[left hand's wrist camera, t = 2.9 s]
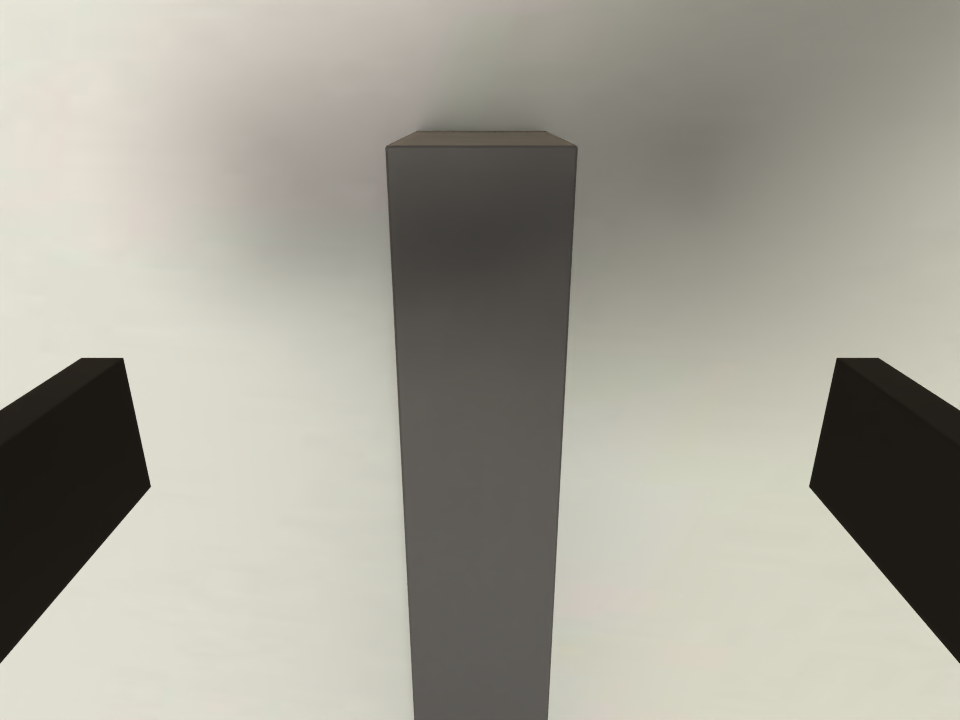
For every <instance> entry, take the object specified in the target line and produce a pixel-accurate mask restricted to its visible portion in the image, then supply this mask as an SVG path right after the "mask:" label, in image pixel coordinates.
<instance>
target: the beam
mask: <svg viewBox="0 0 960 720" xmlns="http://www.w3.org/2000/svg"><path fill="white" fill-rule="evenodd" d="M385 149H386V168H387V188H388V208H389V228H390V248H391V267H392V287H393V307H394V327H395V346H396V366H397V386H398V406H399V426H400V445H401V465H402V485H403V505H404V524H405V544H406V564H407V584H408V604H409V623H410V643H411V663H412V683H413V702H414V720H548V705H549V685H550V666H551V647H552V628H553V609H554V590H555V570H556V551H557V532H558V513H559V494H560V475H561V455H562V436H563V417H564V398H565V379H566V360H567V340H568V321H569V302H570V283H571V264H572V245H573V225H574V206H575V187H576V168H577V149H578V148H577V146H575V145H573V144H571V143H569V142H567V141H565V140H563V139H561V138H558V137H556V136H554V135H552V134H550V133H548V132H546V131H417V132H414V133H412V134H410V135H408V136H406V137H404V138H402V139H400V140H398V141H396V142H394V143H392V144H390V145H388V146H386V148H385Z"/></svg>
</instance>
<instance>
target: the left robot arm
mask: <svg viewBox="0 0 960 720" xmlns="http://www.w3.org/2000/svg"><path fill="white" fill-rule="evenodd" d="M150 487H151V485H150V480H149V476H148V471H147V466H146V462H145V457H144V452H143V448H142V443H141V438H140V434H139V429H138V425H137V420H136V415H135V411H134V406H133V401H132V397H131V392H130V387H129V383H128V378H127V373H126V369H125V364H124V359H123V358H81V359H79V360H78V361H76V362H75V363H73V364H71V365H70V366H68V367H67V368H65V369H64V370H62V371H61V372H59V373H58V374H56V375H54V376H53V377H51V378H50V379H48V380H47V381H45V382H44V383H42V384H40V385H39V386H37V387H36V388H34V389H33V390H31V391H30V392H28V393H27V394H25V395H23V396H22V397H20V398H19V399H17V400H16V401H14V402H13V403H11V404H10V405H8V406H6V407H5V408H3V409H2V410H0V663H1V662H2V661H3V660H4V658H5V657H6V656H7V655H8V654H9V653H10V651H11V650H12V649H13V648H14V647H15V645H16V644H17V643H18V642H19V641H20V640H21V638H22V637H23V636H24V635H25V634H26V633H27V631H28V630H29V629H30V628H31V627H32V626H33V624H34V623H35V622H36V621H37V620H38V619H39V617H40V616H41V615H42V614H43V613H44V611H45V610H46V609H47V608H48V607H49V606H50V604H51V603H52V602H53V601H54V600H55V599H56V597H57V596H58V595H59V594H60V593H61V592H62V590H63V589H64V588H65V587H66V586H67V584H68V583H69V582H70V581H71V580H72V579H73V577H74V576H75V575H76V574H77V573H78V572H79V570H80V569H81V568H82V567H83V566H84V565H85V563H86V562H87V561H88V560H89V559H90V558H91V556H92V555H93V554H94V553H95V552H96V550H97V549H98V548H99V547H100V546H101V545H102V543H103V542H104V541H105V540H106V539H107V538H108V536H109V535H110V534H111V533H112V532H113V531H114V529H115V528H116V527H117V526H118V525H119V524H120V522H121V521H122V520H123V519H124V518H125V516H126V515H127V514H128V513H129V512H130V511H131V509H132V508H133V507H134V506H135V505H136V504H137V502H138V501H139V500H140V499H141V498H142V497H143V495H144V494H145V493H146V492H147V491H148V489H149V488H150ZM809 487H810V488H811V489H812V491H813V492H814V493H815V494H816V495H817V497H818V498H819V499H820V500H821V501H822V502H823V504H824V505H825V506H826V507H827V508H828V509H829V511H830V512H831V513H832V514H833V515H834V516H835V518H836V519H837V520H838V521H839V522H840V524H841V525H842V526H843V527H844V528H845V529H846V531H847V532H848V533H849V534H850V535H851V536H852V538H853V539H854V540H855V541H856V542H857V543H858V545H859V546H860V547H861V548H862V549H863V550H864V552H865V553H866V554H867V555H868V556H869V558H870V559H871V560H872V561H873V562H874V563H875V565H876V566H877V567H878V568H879V569H880V570H881V572H882V573H883V574H884V575H885V576H886V577H887V579H888V580H889V581H890V582H891V583H892V585H893V586H894V587H895V588H896V589H897V590H898V592H899V593H900V594H901V595H902V596H903V597H904V599H905V600H906V601H907V602H908V603H909V604H910V606H911V607H912V608H913V609H914V610H915V611H916V613H917V614H918V615H919V616H920V617H921V619H922V620H923V621H924V622H925V623H926V624H927V626H928V627H929V628H930V629H931V630H932V631H933V633H934V634H935V635H936V636H937V637H938V638H939V640H940V641H941V642H942V643H943V644H944V645H945V647H946V648H947V649H948V650H949V651H950V653H951V654H952V655H953V656H954V657H955V658H956V660H957V661H958V662H959V663H960V410H958V409H957V408H955V407H954V406H952V405H950V404H949V403H947V402H946V401H944V400H943V399H941V398H940V397H938V396H937V395H935V394H933V393H932V392H930V391H929V390H927V389H926V388H924V387H923V386H921V385H920V384H918V383H916V382H915V381H913V380H912V379H910V378H909V377H907V376H906V375H904V374H902V373H901V372H899V371H898V370H896V369H895V368H893V367H892V366H890V365H889V364H887V363H885V362H884V361H882V360H881V359H879V358H837V359H836V364H835V369H834V373H833V378H832V383H831V387H830V392H829V397H828V401H827V406H826V411H825V415H824V420H823V425H822V429H821V434H820V438H819V443H818V448H817V452H816V457H815V462H814V466H813V471H812V476H811V480H810V485H809Z"/></svg>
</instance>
